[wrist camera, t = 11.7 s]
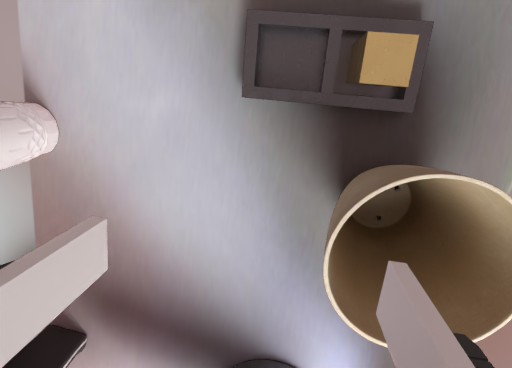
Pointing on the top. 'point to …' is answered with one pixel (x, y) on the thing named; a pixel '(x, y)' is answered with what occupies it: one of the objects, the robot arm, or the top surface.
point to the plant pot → (422, 247)
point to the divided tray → (322, 59)
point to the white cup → (25, 132)
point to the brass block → (382, 59)
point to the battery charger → (50, 349)
